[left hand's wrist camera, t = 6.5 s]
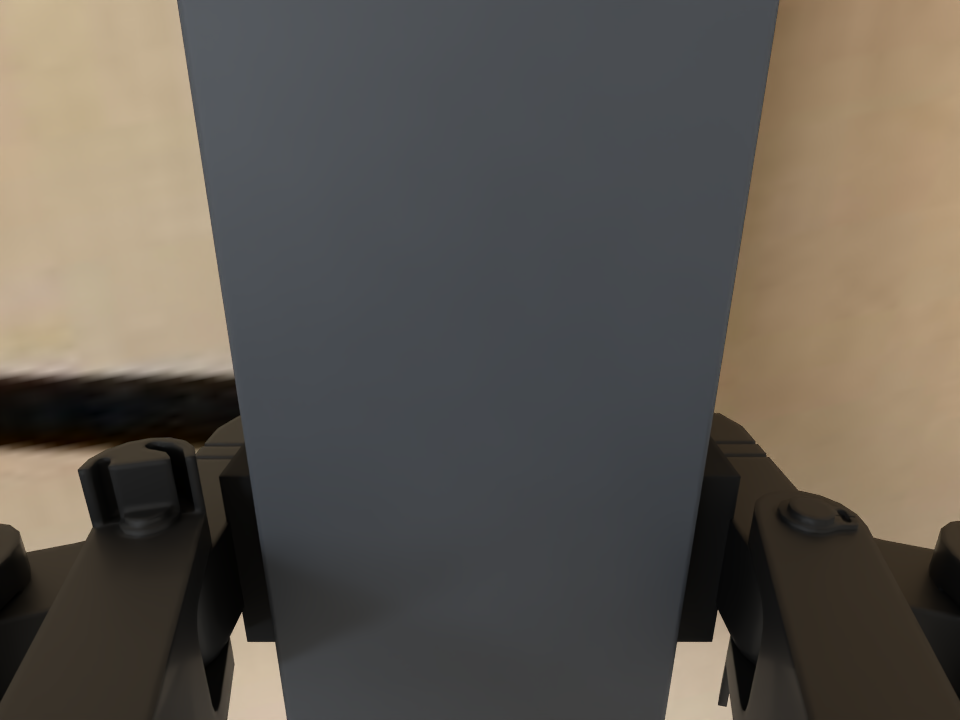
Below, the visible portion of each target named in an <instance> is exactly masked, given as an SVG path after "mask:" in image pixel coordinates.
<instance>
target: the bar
mask: <svg viewBox="0 0 960 720" xmlns="http://www.w3.org/2000/svg"><path fill="white" fill-rule="evenodd" d="M177 3H178V9H179V16H180V22H181V29H182V35H183V42H184V48H185V55H186V62H187V68H188V75H189V81H190V88H191V94H192V101H193V107H194V114H195V120H196V127H197V133H198V140H199V147H200V153H201V160H202V166H203V173H204V179H205V186H206V192H207V199H208V205H209V212H210V219H211V225H212V232H213V238H214V245H215V251H216V258H217V264H218V271H219V277H220V284H221V290H222V297H223V304H224V310H225V317H226V323H227V330H228V336H229V343H230V349H231V356H232V362H233V369H234V375H235V382H236V389H237V395H238V402H239V408H240V415H241V421H242V428H243V434H244V441H245V447H246V454H247V460H248V467H249V474H250V480H251V487H252V493H253V500H254V506H255V513H256V519H257V526H258V532H259V539H260V546H261V552H262V559H263V565H264V572H265V578H266V585H267V591H268V598H269V604H270V611H271V617H272V624H273V631H274V637H275V644H276V650H277V657H278V663H279V670H280V676H281V683H282V689H283V696H284V702H285V709H286V716H287V720H665V714H666V708H667V702H668V696H669V689H670V683H671V677H672V670H673V664H674V658H675V652H676V645H677V639H678V633H679V627H680V620H681V614H682V608H683V601H684V595H685V589H686V583H687V576H688V570H689V564H690V558H691V551H692V545H693V539H694V532H695V526H696V520H697V514H698V507H699V501H700V495H701V489H702V482H703V476H704V470H705V463H706V457H707V451H708V445H709V438H710V432H711V426H712V420H713V413H714V407H715V401H716V394H717V388H718V382H719V376H720V369H721V363H722V357H723V351H724V344H725V338H726V332H727V325H728V319H729V313H730V307H731V300H732V294H733V288H734V282H735V275H736V269H737V263H738V256H739V250H740V244H741V238H742V231H743V225H744V219H745V212H746V206H747V200H748V194H749V187H750V181H751V175H752V169H753V162H754V156H755V150H756V143H757V137H758V131H759V125H760V118H761V112H762V106H763V100H764V93H765V87H766V81H767V74H768V68H769V62H770V56H771V49H772V43H773V37H774V31H775V24H776V18H777V12H778V5H779V0H177Z"/></svg>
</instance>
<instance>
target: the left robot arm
mask: <svg viewBox="0 0 960 720" xmlns="http://www.w3.org/2000/svg"><path fill="white" fill-rule="evenodd" d="M78 473H79V477H80V481H81V484H82V488H83V492H84V496H85V499H86V503H87V507H88V511H89V514H90V518H91V522H92V525H93V528H92V530H91V532H90V534H89V535H88V537H87V539H86V541H83V542H78V543H74V544H69V545H63V546H58V547H53V548H48V549H42V550H37V551H32V552H26V551H25V548H24V545H23V542H22V539H21V536H20V532H19V531H18V530H16V529H15V528H13V527H12V526H11V525H6V524H0V720H227V717H228V709H229V701H230V694H231V686H232V678H233V671H234V658H233V651H232V646H231V641H230V635H231V633H232V631H233V629H234V627H235V625H236V623H237V621H238V619H239V617H240V615H241V613H243V619H244V625H245V630H246V636H247V642H275V637H274V631H273V624H272V617H271V611H270V604H269V598H268V591H267V585H266V578H265V572H264V565H263V559H262V552H261V546H260V539H259V532H258V526H257V519H256V513H255V506H254V500H253V493H252V487H251V480H250V474H249V467H248V460H247V454H246V447H245V441H244V434H243V428H242V421H241V415H240V416H238V417H237V418H235V419H233V420H231V421H230V422H228V423H226V424H225V425H223V426H221V427H219V428H218V429H217V430H216V431H215V432H214V433H213V435H212V436H211V437H210V438H209V439H208V440H207V441H206V443H205V447H201V448H200V450H199V451H198V452H197V453H196V454H195V448H194V446H192V445H191V444H189V443H188V442H186V441H184V440H179V439H174V438H148V439H143V440H138V441H132V442H127V443H125V444H122V445H119V446H116V447H113V448H110V449H107V450H105V451H103V452H101V453H99V454H98V455H96V456H94V457H92V458H90V459H89V460H88V461H86V462H85V463H84V464H83V465H82V466H81V467H80V468H79V469H78ZM718 610H719V612H720V614H721V616H722V619H723V621H724V623H725V625H726V627H727V629H728V631H729V633H730V641H729V646H728V651H727V657H726V662H725V667H724V673H723V678H722V683H721V689H720V694H719V701H718V705H720V706H725V707H727V702H728V696H729V694H730V700H731V707H732V715H733V720H960V521H955V522H950V523H948V524H947V525H946V526H944V527H943V528H941V531H940V534H939V537H938V540H937V543H936V546H935V549H934V550H933V549H928V548H922V547H917V546H912V545H906V544H901V543H896V542H890V541H885V540H881V539H877V538H873V536H872V534H871V532H870V531H869V529H868V527H867V525H866V524H865V523H864V522H863V521H862V520H861V519H860V517H859V516H858V515H857V514H856V513H854V512H853V511H851V510H849V509H848V508H846V507H845V506H843V505H842V504H840V503H838V502H835V501H833V500H830V499H828V498H825V497H823V496H820V495H816V494H812V493H807V492H803V491H798V490H797V489H796V487H795V486H794V485H793V484H792V483H791V482H790V481H789V479H788V478H787V477H786V476H785V475H784V474H783V473H782V471H781V470H780V469H779V468H778V467H777V466H776V464H775V463H774V462H773V461H772V460H771V459H770V458H769V457H766V453H765V452H764V451H763V450H762V448H761V447H760V446H759V445H758V444H755V440H754V439H753V438H752V437H751V436H750V435H749V434H748V432H747V431H746V430H745V429H744V428H743V427H742V426H741V425H739V424H737V423H736V422H734V421H732V420H730V419H729V418H727V417H725V416H723V415H722V414H720V413H713V420H712V426H711V432H710V438H709V445H708V451H707V457H706V463H705V470H704V476H703V482H702V489H701V495H700V501H699V507H698V514H697V520H696V526H695V532H694V539H693V545H692V551H691V558H690V564H689V570H688V576H687V583H686V589H685V595H684V601H683V608H682V614H681V620H680V627H679V633H678V639H677V642H712V639H713V634H714V628H715V622H716V617H717V611H718Z"/></svg>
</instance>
